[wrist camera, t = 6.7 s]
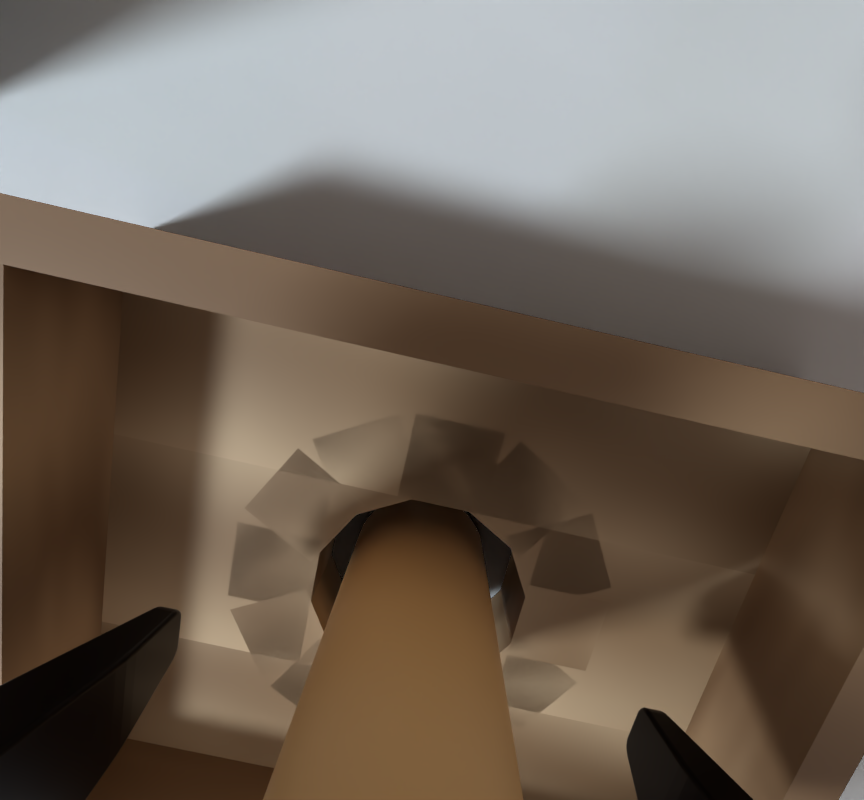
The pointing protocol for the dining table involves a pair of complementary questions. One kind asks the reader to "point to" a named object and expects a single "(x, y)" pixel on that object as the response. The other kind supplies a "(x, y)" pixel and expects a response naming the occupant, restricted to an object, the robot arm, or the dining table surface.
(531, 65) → the dining table surface
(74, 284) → the crate
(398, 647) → the peg
